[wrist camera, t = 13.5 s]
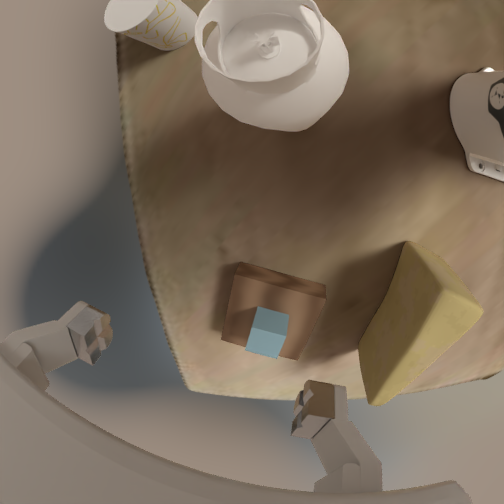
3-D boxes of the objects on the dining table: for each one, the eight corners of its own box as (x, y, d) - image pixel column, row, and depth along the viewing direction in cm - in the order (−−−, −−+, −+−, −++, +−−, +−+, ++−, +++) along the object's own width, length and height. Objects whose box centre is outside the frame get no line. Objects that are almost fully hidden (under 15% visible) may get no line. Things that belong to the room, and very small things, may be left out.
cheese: (379, 352, 46) (391, 414, 33) (338, 339, 47) (342, 405, 33) (447, 260, 36) (489, 313, 23) (405, 236, 37) (445, 289, 23)
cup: (159, 59, 32) (112, 43, 21) (144, 26, 29) (99, 6, 18) (206, 33, 29) (169, 4, 18) (188, -1, 26) (150, -31, 16)
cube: (289, 314, 41) (286, 336, 37) (280, 337, 43) (276, 358, 39) (257, 306, 41) (251, 327, 37) (251, 329, 44) (244, 350, 39)
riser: (325, 285, 42) (326, 299, 39) (298, 345, 49) (297, 360, 45) (240, 261, 43) (234, 274, 40) (226, 325, 50) (220, 339, 46)
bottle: (327, 128, 33) (391, 117, 8) (267, 135, 34) (172, 147, 10) (316, 72, 29) (338, -53, 4) (257, 80, 31) (148, -13, 6)
